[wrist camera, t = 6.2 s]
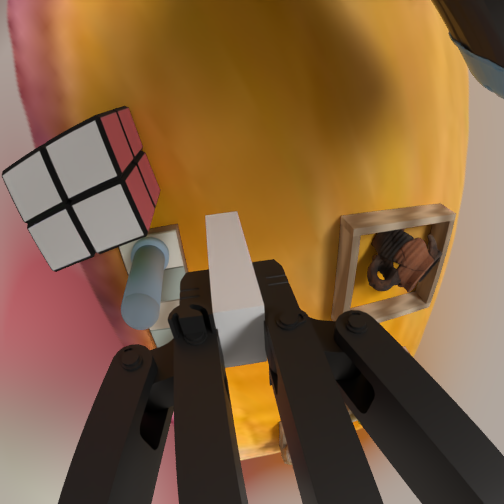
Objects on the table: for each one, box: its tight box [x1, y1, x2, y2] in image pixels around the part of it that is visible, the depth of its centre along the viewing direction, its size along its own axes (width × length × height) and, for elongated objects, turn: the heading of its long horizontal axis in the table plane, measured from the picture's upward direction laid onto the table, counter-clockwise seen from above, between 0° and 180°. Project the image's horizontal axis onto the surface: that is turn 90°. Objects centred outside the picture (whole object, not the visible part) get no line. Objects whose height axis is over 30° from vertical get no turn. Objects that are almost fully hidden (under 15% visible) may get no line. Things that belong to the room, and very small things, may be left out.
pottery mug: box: [367, 228, 442, 292], centre depth 38 cm, size 12×10×8 cm
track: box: [119, 224, 188, 348], centre depth 38 cm, size 7×23×2 cm, turn 4°
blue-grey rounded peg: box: [121, 237, 169, 330], centre depth 27 cm, size 4×4×11 cm
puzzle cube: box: [2, 106, 160, 272], centre depth 23 cm, size 10×10×10 cm
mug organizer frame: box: [331, 204, 456, 323], centre depth 40 cm, size 17×17×4 cm
